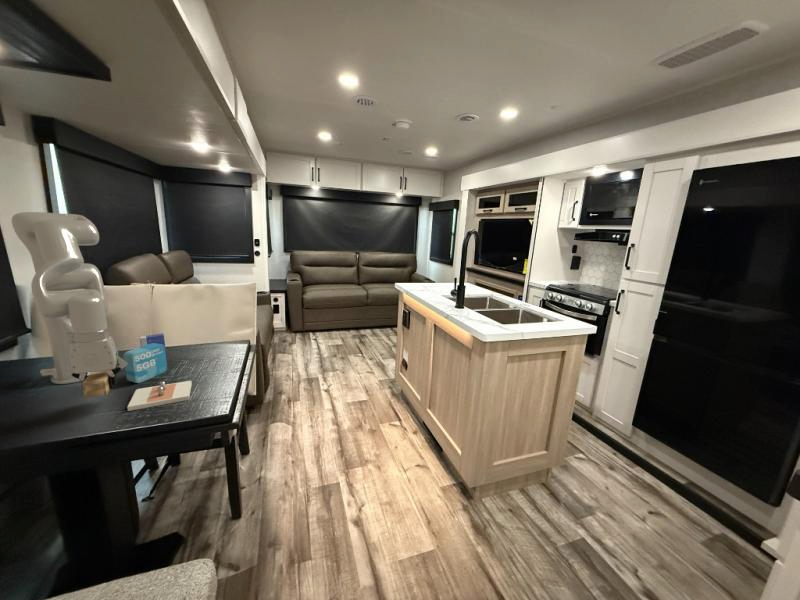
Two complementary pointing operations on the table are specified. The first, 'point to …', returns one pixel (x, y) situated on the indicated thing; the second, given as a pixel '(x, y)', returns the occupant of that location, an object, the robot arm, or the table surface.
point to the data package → (145, 362)
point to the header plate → (151, 398)
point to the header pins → (161, 388)
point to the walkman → (153, 340)
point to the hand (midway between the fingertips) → (100, 387)
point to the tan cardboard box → (96, 384)
